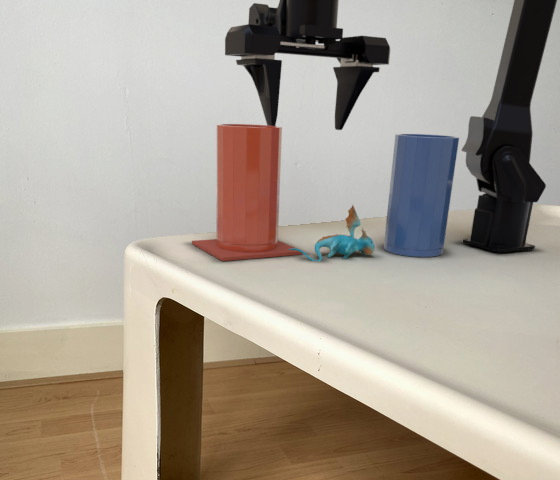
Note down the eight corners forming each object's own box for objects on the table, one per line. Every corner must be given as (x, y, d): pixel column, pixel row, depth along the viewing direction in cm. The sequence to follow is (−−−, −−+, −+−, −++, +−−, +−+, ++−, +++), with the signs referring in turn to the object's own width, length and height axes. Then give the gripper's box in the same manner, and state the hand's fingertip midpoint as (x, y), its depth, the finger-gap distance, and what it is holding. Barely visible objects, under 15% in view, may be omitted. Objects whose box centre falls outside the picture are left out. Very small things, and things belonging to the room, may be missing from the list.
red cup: (282, 241, 76) (287, 126, 71) (269, 254, 69) (273, 128, 64) (226, 237, 77) (227, 123, 72) (208, 249, 71) (208, 125, 65)
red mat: (266, 238, 79) (267, 235, 79) (302, 254, 72) (302, 250, 72) (191, 244, 75) (191, 240, 74) (222, 261, 67) (222, 257, 67)
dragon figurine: (348, 262, 65) (387, 224, 69) (292, 227, 67) (333, 192, 71) (336, 303, 71) (373, 265, 75) (284, 270, 73) (323, 234, 77)
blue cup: (417, 242, 80) (430, 134, 75) (455, 254, 75) (472, 138, 70) (372, 246, 77) (383, 133, 72) (408, 259, 72) (423, 137, 67)
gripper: (344, -7, 79) (335, 126, 85) (205, -26, 70) (206, 124, 77) (400, -19, 70) (385, 132, 76) (248, -42, 62) (245, 129, 68)
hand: (305, 129), depth 74 cm, fingers open, 9 cm apart
